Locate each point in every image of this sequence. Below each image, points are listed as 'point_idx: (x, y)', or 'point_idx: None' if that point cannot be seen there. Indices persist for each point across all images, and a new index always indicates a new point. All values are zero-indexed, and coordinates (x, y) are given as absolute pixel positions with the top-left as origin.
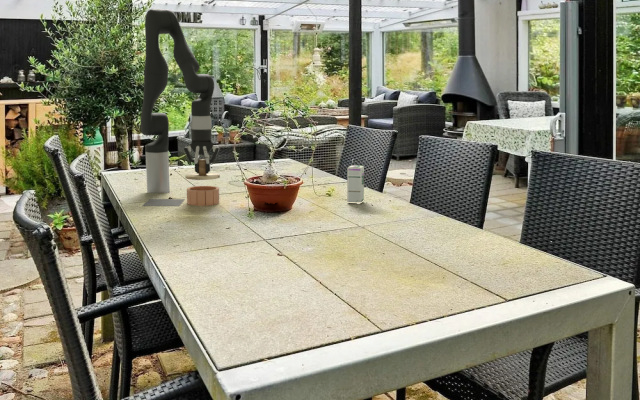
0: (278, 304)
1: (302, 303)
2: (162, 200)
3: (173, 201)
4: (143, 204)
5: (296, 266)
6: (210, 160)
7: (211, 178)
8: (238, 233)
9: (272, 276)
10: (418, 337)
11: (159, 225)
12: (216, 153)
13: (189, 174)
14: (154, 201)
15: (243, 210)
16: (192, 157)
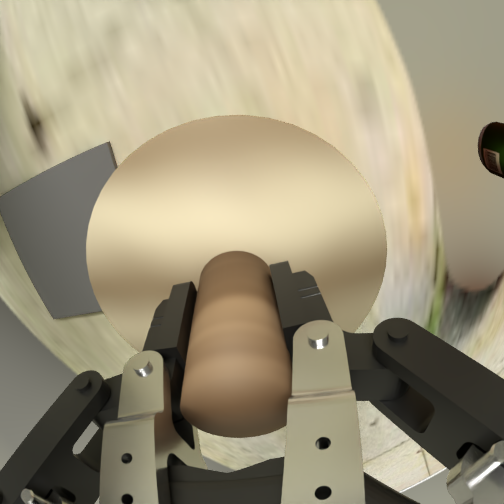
0: (393, 485)
1: (406, 480)
2: (41, 210)
3: (88, 216)
4: (40, 296)
5: (422, 458)
6: (361, 389)
7: None
8: (388, 432)
9: (399, 473)
10: (439, 472)
11: (234, 443)
12: (468, 442)
13: (104, 268)
14: (31, 237)
15: (418, 285)
16: (86, 418)
